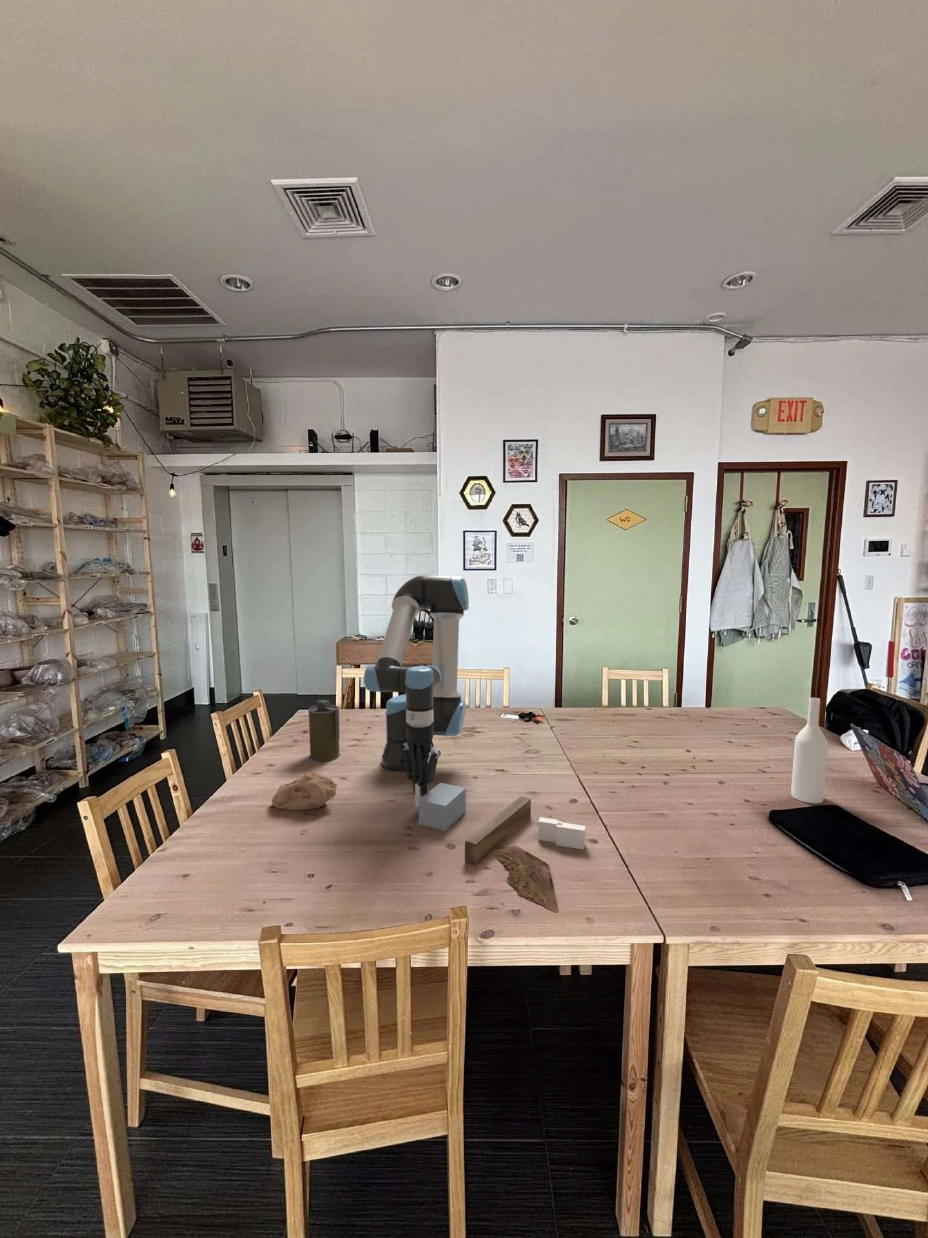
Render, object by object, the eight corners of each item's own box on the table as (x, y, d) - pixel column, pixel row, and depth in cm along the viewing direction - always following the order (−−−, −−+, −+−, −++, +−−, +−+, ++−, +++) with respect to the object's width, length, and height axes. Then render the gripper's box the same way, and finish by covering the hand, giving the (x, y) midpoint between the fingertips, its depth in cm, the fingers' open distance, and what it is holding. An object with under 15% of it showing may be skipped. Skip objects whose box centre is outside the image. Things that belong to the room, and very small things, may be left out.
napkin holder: (598, 849, 133) (599, 827, 132) (565, 864, 126) (565, 840, 126) (555, 824, 145) (556, 803, 144) (523, 836, 139) (523, 815, 138)
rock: (339, 797, 160) (338, 764, 159) (335, 813, 150) (334, 778, 149) (275, 799, 158) (274, 767, 157) (267, 816, 148) (265, 781, 147)
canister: (303, 759, 189) (301, 703, 187) (321, 749, 199) (320, 696, 196) (329, 763, 185) (327, 706, 183) (346, 753, 195) (345, 699, 192)
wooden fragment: (490, 849, 132) (490, 845, 132) (533, 844, 134) (533, 840, 134) (525, 919, 107) (525, 914, 107) (576, 911, 110) (577, 906, 109)
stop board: (464, 860, 127) (464, 840, 126) (520, 813, 150) (521, 796, 149) (475, 864, 125) (475, 844, 125) (530, 816, 148) (530, 799, 148)
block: (419, 824, 144) (418, 799, 143) (440, 806, 155) (440, 782, 154) (445, 831, 140) (445, 806, 140) (465, 812, 151) (465, 788, 150)
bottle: (795, 789, 166) (802, 693, 162) (826, 797, 160) (834, 698, 156) (787, 797, 160) (795, 698, 156) (819, 806, 154) (827, 704, 151)
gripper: (392, 722, 149) (393, 804, 152) (430, 731, 142) (430, 816, 145) (410, 716, 155) (411, 794, 158) (447, 724, 148) (447, 806, 151)
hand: (420, 805), depth 151 cm, fingers closed
